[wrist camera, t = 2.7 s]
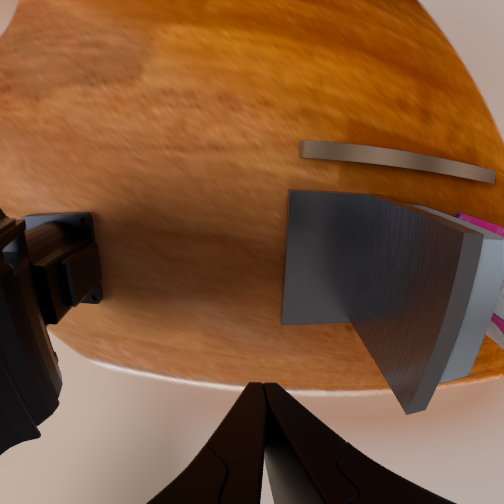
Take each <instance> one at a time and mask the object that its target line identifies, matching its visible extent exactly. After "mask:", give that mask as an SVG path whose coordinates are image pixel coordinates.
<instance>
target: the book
mask: <svg viewBox="0 0 504 504" xmlns="http://www.w3.org/2000/svg"><path fill="white" fill-rule="evenodd" d="M408 205H411V204H408ZM411 206H414V207H417V208H419V209H422V210H425V211H428V212H430V213H433V214H435V215H438V216H441V217H443V218H446V219H448V220H451V221H453V222H456V223H458V224H461V225H463V226H466V227H468V228H470V229H473V230H475V231H478V232H480V233H482V234H484V237H483V242H482V248H481V253H480V257H479V262H478V266H477V271H476V275H475V279H474V283H473V287H472V290H471V294H470V297H469V301H468V304H467V308H466V311H465V314H464V317H463V320H462V323H461V326H460V329H459V332H458V335H457V338H456V341H455V343H454V346H453V349H452V351H451V354H450V357H449V359H448V362H447V364H446V366H445V369H444V371H443V373H442V376H441V378H440V380H439V383H438V384H441V383H445V382H448V381H452V380H455V379H459V378H462V377H466V376H468V375H469V373H470V370H471V368H472V366H473V364H474V361H475V359H476V357H477V354H478V352H479V350H480V347H481V345H482V342H483V340H484V337H485V334H486V332H487V329H488V326H489V323H490V321H491V318H492V315H493V312H494V309H495V305H496V302H497V299H498V296H499V292H500V289H501V285H502V282H503V278H504V237H503V236H500V235H498V234H496V233H493V232H491V231H488V230H486V229H484V228H481V227H479V226H476V225H474V224H471V223H469V222H466V221H463V220H461V219H458V218H455V217H453V216H450V215H447V214H445V213H442V212H439V211H436V210H434V209H431V208H428V207H425V206H422V205H411Z"/></svg>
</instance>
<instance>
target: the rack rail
mask: <svg viewBox="0 0 504 504" xmlns="http://www.w3.org/2000/svg"><path fill="white" fill-rule="evenodd" d="M299 157H300V158H316V159H329V160H341V161H352V162H362V163H371V164H380V165H388V166H396V167H403V168H410V169H417V170H423V171H429V172H435V173H441V174H447V175H452V176H458V177H463V178H468V179H473V180H477V181H482V182H487V183H491V184H494V182H495V171H493V170H490V169H486V168H482V167H478V166H474V165H470V164H466V163H461V162H457V161H452V160H448V159H443V158H438V157H433V156H428V155H423V154H417V153H411V152H406V151H399V150H393V149H386V148H379V147H372V146H364V145H356V144H347V143H338V142H327V141H316V140H303V141H299Z"/></svg>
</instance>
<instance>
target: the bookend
mask: <svg viewBox="0 0 504 504" xmlns="http://www.w3.org/2000/svg"><path fill="white" fill-rule="evenodd" d="M483 237H484V234H482V233H480V232H478V231H475V230H473V229H470V228H468V227H466V226H463V225H461V224H458V223H456V222H453V221H451V220H448V219H446V218H443V217H441V216H438V215H435V214H433V213H430V212H428V211H425V210H422V209H419V208H417V207H414V206H411V205H408V204H405V203H403V202H400V201H397V200H394V199H391V198H388V197H385V196H382V195H376V194H363V193H348V192H331V191H311V190H288V204H287V225H286V244H285V262H284V278H283V294H282V308H281V324H282V325H303V324H326V323H344V322H351V324H352V326H353V327H354V329H355V330H356V332H357V333H358V335H359V337H360V338H361V340H362V341H363V343H364V345H365V346H366V348H367V350H368V351H369V353H370V354H371V356H372V358H373V359H374V361H375V363H376V364H377V366H378V368H379V369H380V371H381V373H382V374H383V376H384V378H385V379H386V381H387V383H388V384H389V386H390V388H391V389H392V391H393V393H394V394H395V396H396V398H397V399H398V401H399V403H400V405H401V406H402V408H403V410H404V412H405V413H406V415H408V414H412V413H416V412H419V411H423V410H425V409H426V408H427V406H428V404H429V402H430V400H431V398H432V396H433V393H434V391H435V389H436V387H437V385H438V383H439V380H440V378H441V376H442V373H443V371H444V369H445V366H446V364H447V362H448V359H449V357H450V354H451V351H452V349H453V346H454V343H455V341H456V338H457V335H458V332H459V329H460V326H461V323H462V320H463V317H464V314H465V311H466V308H467V304H468V301H469V297H470V294H471V290H472V287H473V283H474V279H475V275H476V271H477V266H478V262H479V257H480V253H481V248H482V242H483Z"/></svg>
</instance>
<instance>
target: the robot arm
mask: <svg viewBox="0 0 504 504" xmlns="http://www.w3.org/2000/svg"><path fill="white" fill-rule="evenodd" d="M83 217H85V218H86V220H87V223H85V222H84V221H83ZM25 221H26V223H27V225H26V224H25ZM101 279H102V276H101V270H100V263H99V255H98V248H97V244H96V243H95V240H94V231H93V220H92V216H91V215H90V214H89V213H88V212H77V213H59V214H43V215H28V216H24V217H22V218H21V219H20V220H16V219H15V218H9V217H7V216H6V215H5V214H4V212H3V211H2V210H1V208H0V455H1V454H2V453H4V452H5V451H6V450H8V449H9V448H10V447H12V446H15V445H17V444H19V443H21V442H24V441H28V440H32V439H37V438H39V437H40V436H41V433H40V431H39V430H38V429H37V426H38V425H40V424H41V423H42V422H44V421H45V420H46V419H47V418H48V417H49V416H51V415H52V414H53V413H54V411H55V410H56V409H57V407H58V406H59V400H58V397H59V394H60V391H61V387H62V377H61V372H60V369H59V367H58V358H57V355H56V352H54V351H53V347H52V345H51V342H50V338H49V335H48V332H47V329H46V327H47V326H48V325H49V324H54V325H55V324H57V323H58V322H59V321H60V320H61V319H62V318H63V317H64V316H65V314H66V313H67V312H68V311H69V310H70V309H71V308H72V307H76V306H77V305H78V304H79V303H90V304H98V303H100V301H101V300H102V298H103V294H102V289H101V283H100V281H101ZM94 294H95V295H96V296H97V297H98V298H95V297H94ZM264 459H265V463H266V468H267V473H268V477H269V482H270V486H271V491H272V496H273V500H274V504H456V503H454V502H452V501H449V500H447V499H445V498H443V497H441V496H438V495H437V494H434V493H432V492H430V491H428V490H426V489H424V488H422V487H420V486H418V485H416V484H414V483H412V482H410V481H408V480H406V479H405V478H402V477H401V476H399V475H397V474H395V473H394V472H392V471H390V470H388V469H386V468H385V467H383V466H381V465H380V464H378V463H377V462H375V461H373V460H372V459H370V458H369V457H367V456H366V455H364V454H363V453H362V452H360V451H359V450H357V449H356V448H354V447H353V446H352V445H351V444H350V443H348V442H346V441H345V440H344V439H342V438H341V437H340V436H339V435H338V434H336V433H335V432H334V431H333V430H331V429H330V428H329V427H328V426H326V425H325V424H324V423H323V422H322V421H320V420H319V419H318V418H317V417H316V416H314V415H313V414H312V413H311V412H309V410H307V409H306V408H305V407H304V406H303V405H301V404H300V403H299V402H298V401H297V400H296V399H294V398H293V397H292V396H291V395H290V394H289V393H288V392H287V391H285V390H284V389H283V388H282V387H281V386H280V385H279V384H277V383H263V384H262V383H260V382H249V383H248V384H247V386H246V387H245V389H244V390H243V392H242V393H241V395H240V396H239V398H238V399H237V400H236V402H235V404H234V405H233V406H232V408H231V409H230V411H229V412H228V413H227V415H226V416H225V418H224V419H223V421H222V422H221V423H220V425H219V426H218V428H217V429H216V430H215V432H214V433H213V435H212V436H211V437H210V439H209V440H208V441H207V443H206V444H205V446H203V448H202V449H201V450H200V452H199V453H198V454H197V456H196V457H195V458H194V459H193V460H192V462H191V463H190V464H189V465H188V466H187V467H186V468H185V469H184V470H183V472H181V473H180V474H179V475H178V476H177V477H176V478H175V479H174V480H173V481H172V482H171V483H170V484H169V485H167V486H166V487H165V488H164V489H163V490H162V491H161V492H159V493H158V494H157V495H156V496H155V497H154V498H152V499H151V500H150V501H149V502H148V503H147V504H260V499H261V488H262V476H263V464H264Z"/></svg>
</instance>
